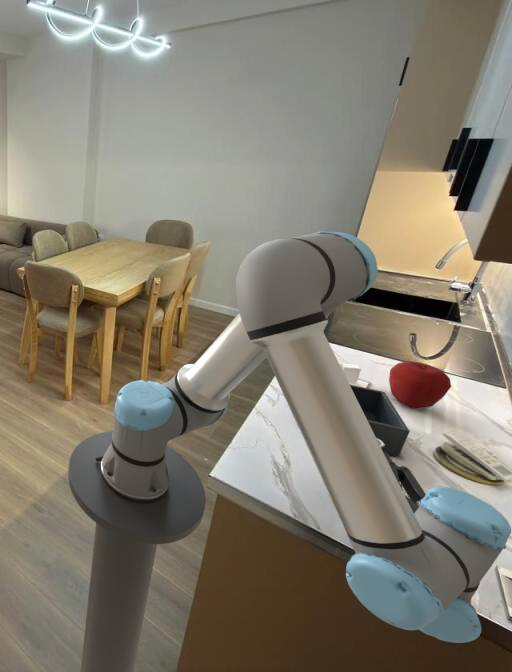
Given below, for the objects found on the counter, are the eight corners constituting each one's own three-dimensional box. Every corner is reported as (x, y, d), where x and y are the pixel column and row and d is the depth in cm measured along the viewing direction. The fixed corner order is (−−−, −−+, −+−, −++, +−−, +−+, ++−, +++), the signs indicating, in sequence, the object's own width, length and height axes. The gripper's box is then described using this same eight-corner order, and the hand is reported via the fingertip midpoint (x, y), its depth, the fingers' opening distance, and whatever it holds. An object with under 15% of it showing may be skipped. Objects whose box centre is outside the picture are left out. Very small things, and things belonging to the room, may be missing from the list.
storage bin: (309, 434, 103) (317, 409, 100) (298, 397, 117) (305, 375, 114) (398, 457, 95) (410, 431, 92) (375, 415, 109) (384, 391, 106)
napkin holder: (301, 375, 128) (305, 360, 126) (311, 363, 134) (315, 349, 132) (361, 397, 117) (367, 380, 115) (369, 382, 124) (374, 367, 122)
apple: (442, 406, 113) (461, 366, 108) (434, 422, 106) (453, 380, 102) (386, 386, 122) (401, 348, 117) (375, 400, 115) (391, 361, 111)
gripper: (330, 524, 69) (307, 440, 89) (460, 569, 62) (404, 466, 81) (343, 492, 67) (316, 413, 86) (481, 535, 59) (417, 437, 79)
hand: (359, 439), depth 84 cm, fingers closed on flask, 3 cm apart
